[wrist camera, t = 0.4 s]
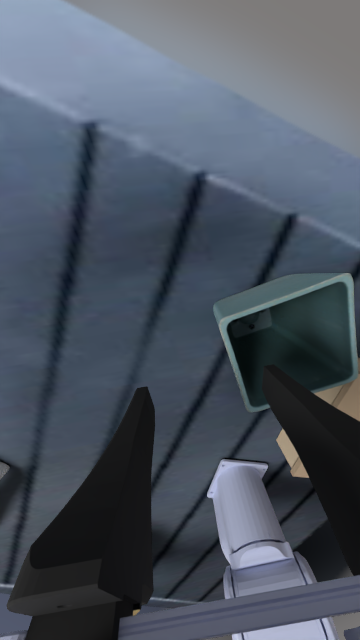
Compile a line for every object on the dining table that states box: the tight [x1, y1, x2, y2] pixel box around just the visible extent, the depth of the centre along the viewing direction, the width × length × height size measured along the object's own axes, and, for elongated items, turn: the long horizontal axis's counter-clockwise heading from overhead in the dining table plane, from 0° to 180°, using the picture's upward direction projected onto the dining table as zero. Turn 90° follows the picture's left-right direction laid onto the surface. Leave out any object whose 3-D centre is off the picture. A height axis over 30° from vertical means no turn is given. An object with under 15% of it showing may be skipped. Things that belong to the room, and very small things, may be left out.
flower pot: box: [213, 273, 359, 412], centre depth 18 cm, size 9×9×9 cm
